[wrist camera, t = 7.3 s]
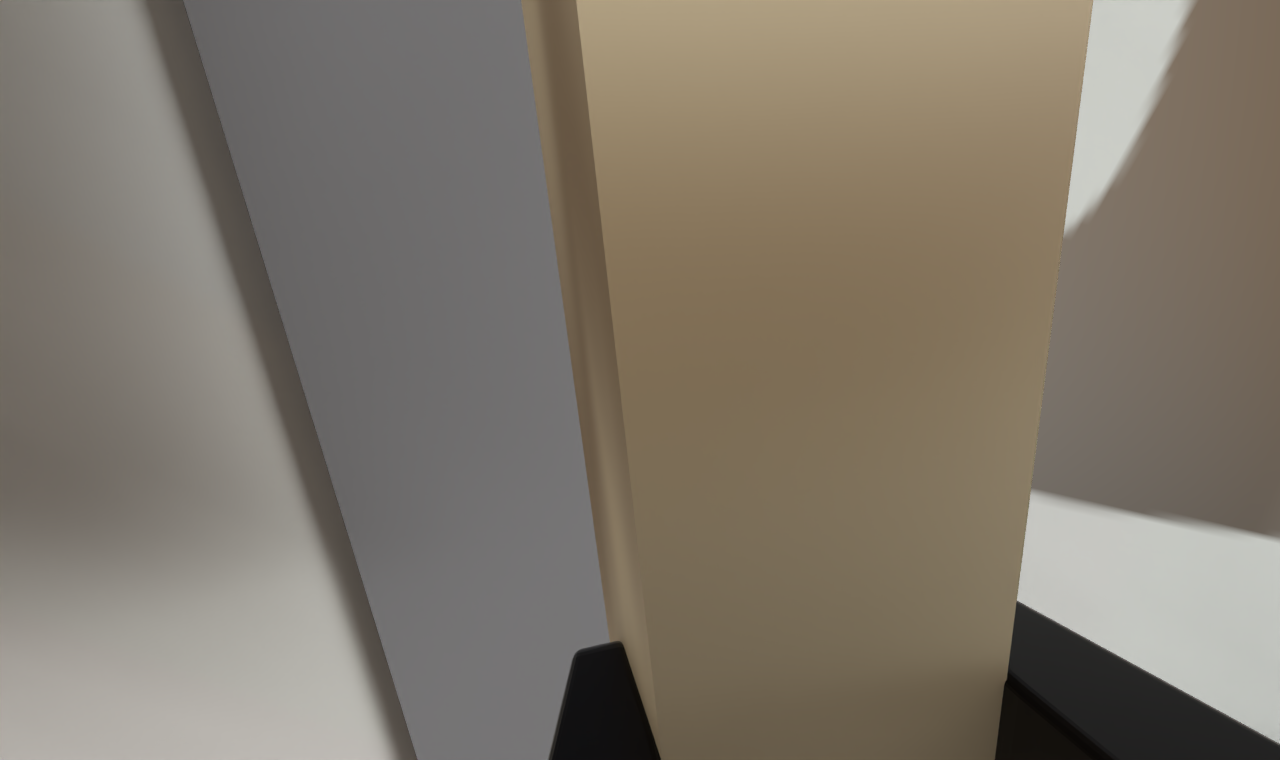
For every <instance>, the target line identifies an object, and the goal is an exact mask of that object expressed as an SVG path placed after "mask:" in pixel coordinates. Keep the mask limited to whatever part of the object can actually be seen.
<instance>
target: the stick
mask: <svg viewBox="0 0 1280 760" xmlns="http://www.w3.org/2000/svg"><path fill="white" fill-rule="evenodd" d="M521 3H522V10H523V18H524V25H525V32H526V39H527V47H528V54H529V61H530V68H531V75H532V83H533V90H534V97H535V104H536V112H537V119H538V126H539V133H540V141H541V148H542V155H543V162H544V169H545V177H546V184H547V191H548V198H549V206H550V213H551V220H552V227H553V235H554V242H555V249H556V256H557V263H558V271H559V278H560V285H561V292H562V300H563V307H564V314H565V321H566V329H567V336H568V343H569V350H570V357H571V365H572V372H573V379H574V386H575V394H576V401H577V408H578V415H579V422H580V430H581V437H582V444H583V451H584V459H585V466H586V473H587V480H588V488H589V495H590V502H591V509H592V516H593V524H594V531H595V538H596V545H597V553H598V560H599V567H600V574H601V582H602V589H603V596H604V603H605V610H606V618H607V625H608V632H609V639H610V642H614V641H620V642H622V643H623V646H624V648H625V651H626V654H627V658H628V661H629V664H630V667H631V670H632V673H633V676H634V679H635V682H636V685H637V688H638V691H639V694H640V697H641V700H642V703H643V706H644V709H645V712H646V715H647V718H648V721H649V724H650V727H651V730H652V733H653V736H654V739H655V742H656V745H657V748H658V752H659V755H660V758H661V760H995V754H996V746H997V738H998V730H999V722H1000V714H1001V706H1002V698H1003V690H1004V684H1005V681H1006V680H1007V673H1008V665H1009V657H1010V649H1011V641H1012V633H1013V625H1014V618H1015V610H1016V602H1017V594H1018V586H1019V578H1020V571H1021V563H1022V555H1023V547H1024V539H1025V531H1026V523H1027V516H1028V508H1029V500H1030V492H1031V484H1032V476H1033V468H1034V461H1035V453H1036V445H1037V436H1038V429H1039V421H1040V413H1041V406H1042V397H1043V390H1044V382H1045V373H1046V366H1047V359H1048V350H1049V343H1050V335H1051V327H1052V319H1053V312H1054V304H1055V295H1056V288H1057V280H1058V272H1059V264H1060V256H1061V248H1062V241H1063V233H1064V225H1065V217H1066V209H1067V202H1068V194H1069V186H1070V178H1071V170H1072V162H1073V155H1074V147H1075V139H1076V131H1077V123H1078V115H1079V107H1080V100H1081V92H1082V84H1083V76H1084V68H1085V60H1086V52H1087V45H1088V37H1089V29H1090V21H1091V13H1092V5H1093V0H521Z"/></svg>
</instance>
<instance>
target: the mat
mask: <svg viewBox="0 0 1280 760" xmlns="http://www.w3.org/2000/svg"><path fill="white" fill-rule="evenodd" d="M183 2H184V5H185V9H186V12H187V15H188V18H189V22H190V25H191V28H192V31H193V34H194V38H195V41H196V44H197V47H198V51H199V54H200V57H201V60H202V64H203V67H204V70H205V73H206V77H207V80H208V83H209V86H210V90H211V93H212V96H213V99H214V103H215V106H216V109H217V112H218V115H219V119H220V122H221V125H222V128H223V132H224V135H225V138H226V141H227V145H228V148H229V151H230V154H231V158H232V161H233V164H234V167H235V171H236V174H237V177H238V180H239V183H240V187H241V190H242V193H243V196H244V200H245V203H246V206H247V209H248V213H249V216H250V219H251V222H252V226H253V229H254V232H255V235H256V239H257V242H258V245H259V248H260V251H261V255H262V258H263V261H264V264H265V268H266V271H267V274H268V277H269V281H270V284H271V287H272V290H273V294H274V297H275V300H276V303H277V307H278V310H279V313H280V316H281V319H282V323H283V326H284V329H285V332H286V336H287V339H288V342H289V345H290V349H291V352H292V355H293V358H294V362H295V365H296V368H297V371H298V375H299V378H300V381H301V384H302V387H303V391H304V394H305V397H306V400H307V404H308V407H309V410H310V413H311V417H312V420H313V423H314V426H315V430H316V433H317V436H318V439H319V443H320V446H321V449H322V452H323V456H324V459H325V462H326V465H327V468H328V472H329V475H330V478H331V481H332V485H333V488H334V491H335V494H336V498H337V501H338V504H339V507H340V511H341V514H342V517H343V520H344V524H345V527H346V530H347V533H348V536H349V540H350V543H351V546H352V549H353V553H354V556H355V559H356V562H357V566H358V569H359V572H360V575H361V579H362V582H363V585H364V588H365V592H366V595H367V598H368V601H369V604H370V608H371V611H372V614H373V617H374V621H375V624H376V627H377V630H378V634H379V637H380V640H381V643H382V647H383V650H384V653H385V656H386V660H387V663H388V666H389V669H390V672H391V676H392V679H393V682H394V685H395V689H396V692H397V695H398V698H399V702H400V705H401V708H402V711H403V715H404V718H405V721H406V724H407V728H408V731H409V734H410V737H411V740H412V744H413V747H414V750H415V753H416V757H417V760H548V757H549V753H550V749H551V745H552V740H553V736H554V732H555V728H556V724H557V720H558V716H559V712H560V707H561V703H562V699H563V695H564V691H565V687H566V683H567V679H568V675H569V670H570V666H571V662H572V659H573V656H574V654H575V653H576V652H577V651H578V650H580V649H583V648H587V647H591V646H596V645H600V644H605V643H609V642H610V639H609V632H608V625H607V618H606V610H605V603H604V596H603V589H602V582H601V574H600V567H599V560H598V553H597V545H596V538H595V531H594V524H593V516H592V509H591V502H590V495H589V488H588V480H587V473H586V466H585V459H584V451H583V444H582V437H581V430H580V422H579V415H578V408H577V401H576V394H575V386H574V379H573V372H572V365H571V357H570V350H569V343H568V336H567V329H566V321H565V314H564V307H563V300H562V292H561V285H560V278H559V271H558V263H557V256H556V249H555V242H554V235H553V227H552V220H551V213H550V206H549V198H548V191H547V184H546V177H545V169H544V162H543V155H542V148H541V141H540V133H539V126H538V119H537V112H536V104H535V97H534V90H533V83H532V75H531V68H530V61H529V54H528V47H527V39H526V32H525V25H524V18H523V10H522V3H521V0H183Z"/></svg>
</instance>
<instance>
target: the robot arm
mask: <svg viewBox="0 0 1280 760" xmlns="http://www.w3.org/2000/svg"><path fill="white" fill-rule="evenodd" d="M548 760H661V758H660V755H659V752H658V748H657V745H656V742H655V739H654V736H653V733H652V730H651V727H650V724H649V721H648V718H647V715H646V712H645V709H644V706H643V703H642V700H641V697H640V694H639V691H638V688H637V685H636V682H635V679H634V676H633V673H632V670H631V667H630V664H629V661H628V658H627V654H626V651H625V648H624V646H623V643H622V642H620V641H614V642H609V643H605V644H600V645H596V646H591V647H587V648H583V649H580V650H578V651H577V652H576V653H575V654H574V656H573V659H572V662H571V666H570V670H569V675H568V679H567V683H566V687H565V691H564V695H563V699H562V703H561V707H560V712H559V716H558V720H557V724H556V728H555V732H554V736H553V740H552V745H551V749H550V753H549V757H548ZM995 760H1280V744H1279V743H1277V742H1275V741H1273V740H1271V739H1270V738H1268V737H1266V736H1264V735H1262V734H1260V733H1259V732H1257V731H1255V730H1253V729H1251V728H1249V727H1248V726H1246V725H1244V724H1242V723H1240V722H1238V721H1237V720H1235V719H1233V718H1231V717H1229V716H1227V715H1226V714H1224V713H1222V712H1220V711H1218V710H1216V709H1215V708H1213V707H1211V706H1209V705H1207V704H1205V703H1204V702H1202V701H1200V700H1198V699H1196V698H1195V697H1193V696H1191V695H1189V694H1187V693H1185V692H1184V691H1182V690H1180V689H1178V688H1176V687H1174V686H1173V685H1171V684H1169V683H1167V682H1165V681H1163V680H1162V679H1160V678H1158V677H1156V676H1154V675H1152V674H1151V673H1149V672H1147V671H1145V670H1143V669H1141V668H1140V667H1138V666H1136V665H1134V664H1132V663H1130V662H1129V661H1127V660H1125V659H1123V658H1121V657H1119V656H1118V655H1116V654H1114V653H1112V652H1110V651H1108V650H1107V649H1105V648H1103V647H1101V646H1099V645H1097V644H1096V643H1094V642H1092V641H1090V640H1088V639H1086V638H1085V637H1083V636H1081V635H1079V634H1077V633H1075V632H1074V631H1072V630H1070V629H1068V628H1066V627H1064V626H1063V625H1061V624H1059V623H1057V622H1055V621H1053V620H1052V619H1050V618H1048V617H1046V616H1044V615H1042V614H1041V613H1039V612H1037V611H1035V610H1033V609H1031V608H1030V607H1028V606H1026V605H1024V604H1022V603H1020V602H1019V601H1017V602H1016V610H1015V618H1014V625H1013V633H1012V641H1011V649H1010V657H1009V665H1008V673H1007V680H1006V681H1005V684H1004V690H1003V698H1002V706H1001V714H1000V722H999V730H998V738H997V746H996V754H995Z"/></svg>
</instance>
